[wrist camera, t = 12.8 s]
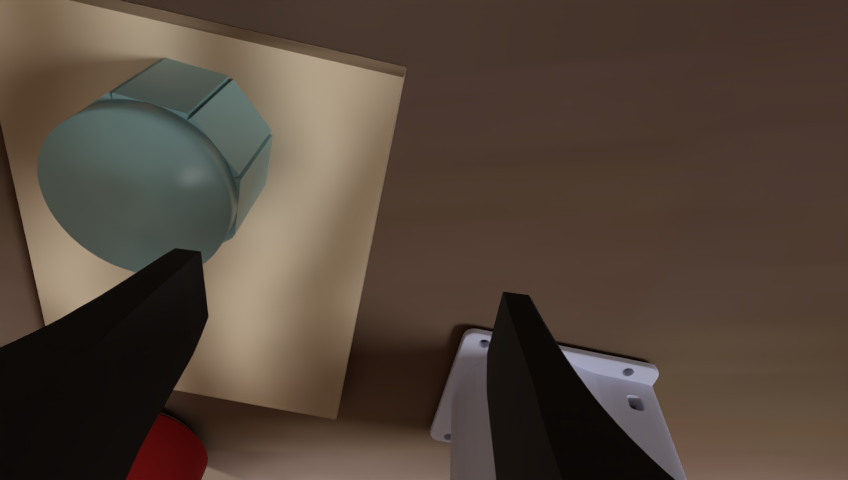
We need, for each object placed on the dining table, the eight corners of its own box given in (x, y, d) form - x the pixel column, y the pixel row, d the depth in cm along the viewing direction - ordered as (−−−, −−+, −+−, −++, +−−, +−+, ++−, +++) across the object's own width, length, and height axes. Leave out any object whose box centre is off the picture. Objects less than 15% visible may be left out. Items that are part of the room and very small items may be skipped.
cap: (299, 168, 21) (264, 234, 17) (189, 226, 22) (134, 298, 19) (199, 33, 18) (132, 75, 14) (83, 109, 20) (-4, 165, 16)
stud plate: (406, 66, 20) (394, 109, 16) (340, 401, 30) (324, 472, 26) (-6, -29, 19) (-114, -6, 15) (68, 350, 29) (14, 417, 25)
